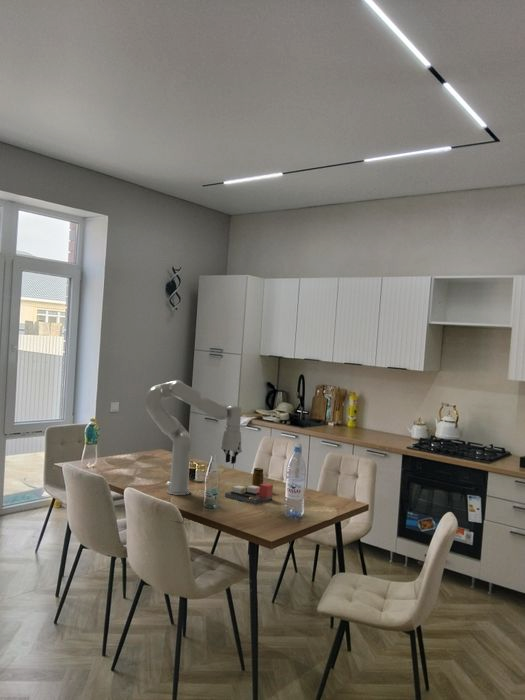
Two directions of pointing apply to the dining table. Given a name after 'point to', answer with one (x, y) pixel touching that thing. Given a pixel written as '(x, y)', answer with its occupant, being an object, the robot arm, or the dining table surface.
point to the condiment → (257, 477)
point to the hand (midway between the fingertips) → (230, 462)
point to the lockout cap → (265, 490)
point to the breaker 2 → (253, 489)
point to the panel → (247, 497)
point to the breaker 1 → (239, 489)
